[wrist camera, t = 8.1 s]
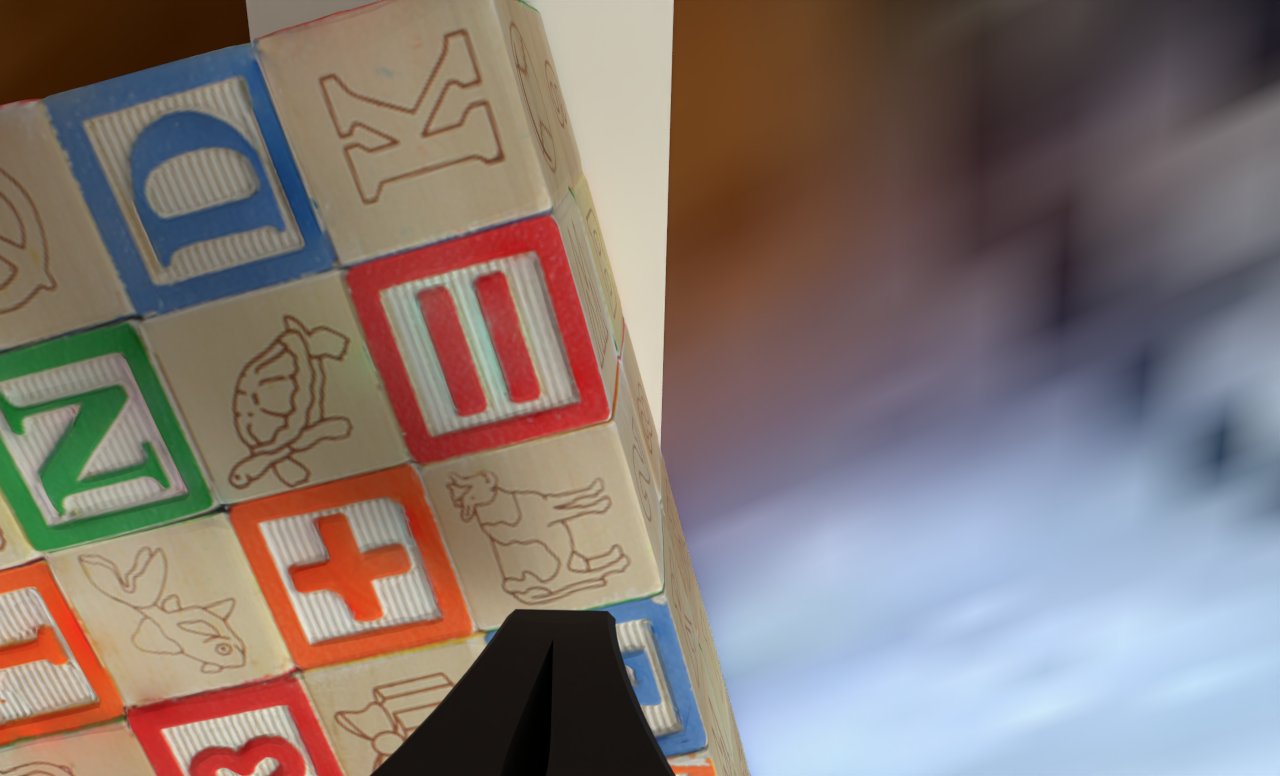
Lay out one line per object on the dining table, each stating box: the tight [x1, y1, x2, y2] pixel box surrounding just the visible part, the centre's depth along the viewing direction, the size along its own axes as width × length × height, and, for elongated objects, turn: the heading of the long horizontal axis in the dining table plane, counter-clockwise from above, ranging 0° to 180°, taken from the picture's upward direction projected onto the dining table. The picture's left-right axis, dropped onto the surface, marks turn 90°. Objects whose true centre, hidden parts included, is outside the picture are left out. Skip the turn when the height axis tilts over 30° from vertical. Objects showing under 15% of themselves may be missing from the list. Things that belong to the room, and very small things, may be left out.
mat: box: [246, 0, 674, 447], centre depth 19 cm, size 8×22×1 cm, turn 179°
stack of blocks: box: [0, 0, 751, 776], centre depth 17 cm, size 21×6×12 cm
